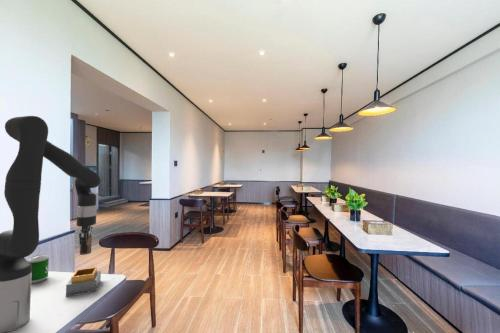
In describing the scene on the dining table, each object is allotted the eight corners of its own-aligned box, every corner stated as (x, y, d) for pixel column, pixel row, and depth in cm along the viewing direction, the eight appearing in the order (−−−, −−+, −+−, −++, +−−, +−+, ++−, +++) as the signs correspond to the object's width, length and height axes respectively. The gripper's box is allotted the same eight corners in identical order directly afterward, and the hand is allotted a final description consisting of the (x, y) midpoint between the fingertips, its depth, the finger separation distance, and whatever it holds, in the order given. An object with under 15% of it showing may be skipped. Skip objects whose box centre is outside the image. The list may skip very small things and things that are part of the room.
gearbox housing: (95, 291, 101) (96, 274, 101) (65, 296, 97) (66, 279, 97) (100, 280, 111) (101, 265, 111) (73, 285, 107) (74, 269, 107)
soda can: (42, 283, 108) (43, 258, 108) (23, 285, 106) (24, 259, 106) (51, 276, 115) (52, 253, 116) (33, 278, 113) (34, 254, 113)
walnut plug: (90, 254, 103) (90, 236, 104) (78, 255, 101) (79, 237, 102) (92, 251, 107) (92, 234, 108) (81, 252, 105) (81, 235, 106)
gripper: (92, 217, 100) (91, 255, 100) (99, 212, 113) (97, 245, 112) (72, 218, 97) (70, 257, 96) (81, 213, 110) (79, 247, 109)
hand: (85, 251), depth 104 cm, fingers closed on walnut plug, 4 cm apart
